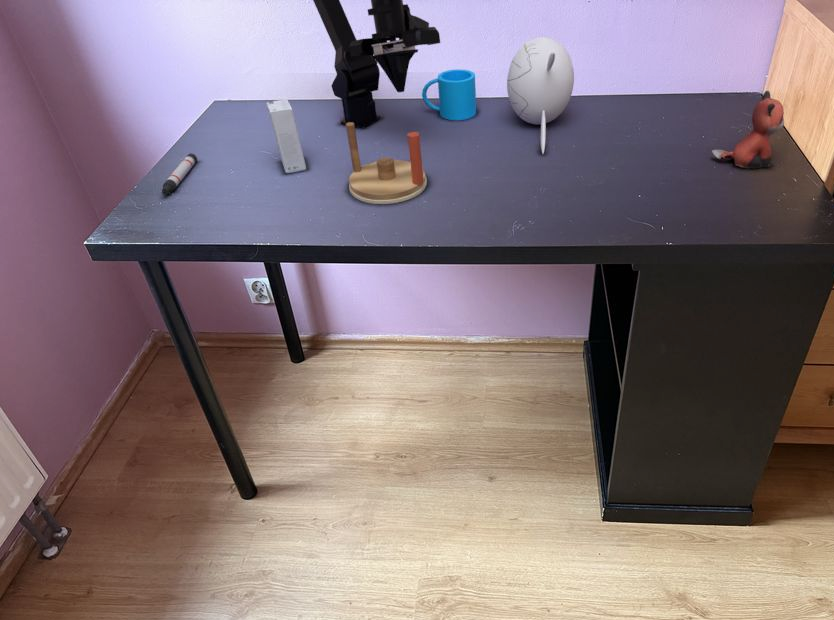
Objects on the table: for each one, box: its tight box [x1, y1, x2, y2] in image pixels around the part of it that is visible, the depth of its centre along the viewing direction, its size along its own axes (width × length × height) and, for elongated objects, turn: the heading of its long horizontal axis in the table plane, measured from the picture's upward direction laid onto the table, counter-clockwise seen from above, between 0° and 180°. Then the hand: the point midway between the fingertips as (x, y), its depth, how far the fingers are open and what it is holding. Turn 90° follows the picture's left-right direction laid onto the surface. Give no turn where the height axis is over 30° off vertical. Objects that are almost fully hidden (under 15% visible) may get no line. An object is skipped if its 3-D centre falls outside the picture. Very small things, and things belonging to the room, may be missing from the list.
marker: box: [161, 152, 198, 195], centre depth 127 cm, size 15×2×2 cm, turn 178°
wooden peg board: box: [345, 122, 426, 200], centre depth 119 cm, size 14×14×10 cm
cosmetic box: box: [266, 98, 307, 174], centre depth 126 cm, size 6×4×12 cm
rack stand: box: [348, 175, 428, 205], centre depth 122 cm, size 14×14×1 cm
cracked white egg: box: [506, 36, 575, 155], centre depth 134 cm, size 19×14×25 cm
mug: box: [421, 68, 477, 121], centre depth 145 cm, size 12×8×8 cm
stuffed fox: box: [711, 90, 785, 170], centre depth 120 cm, size 8×11×12 cm
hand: (400, 92), depth 126 cm, fingers closed
